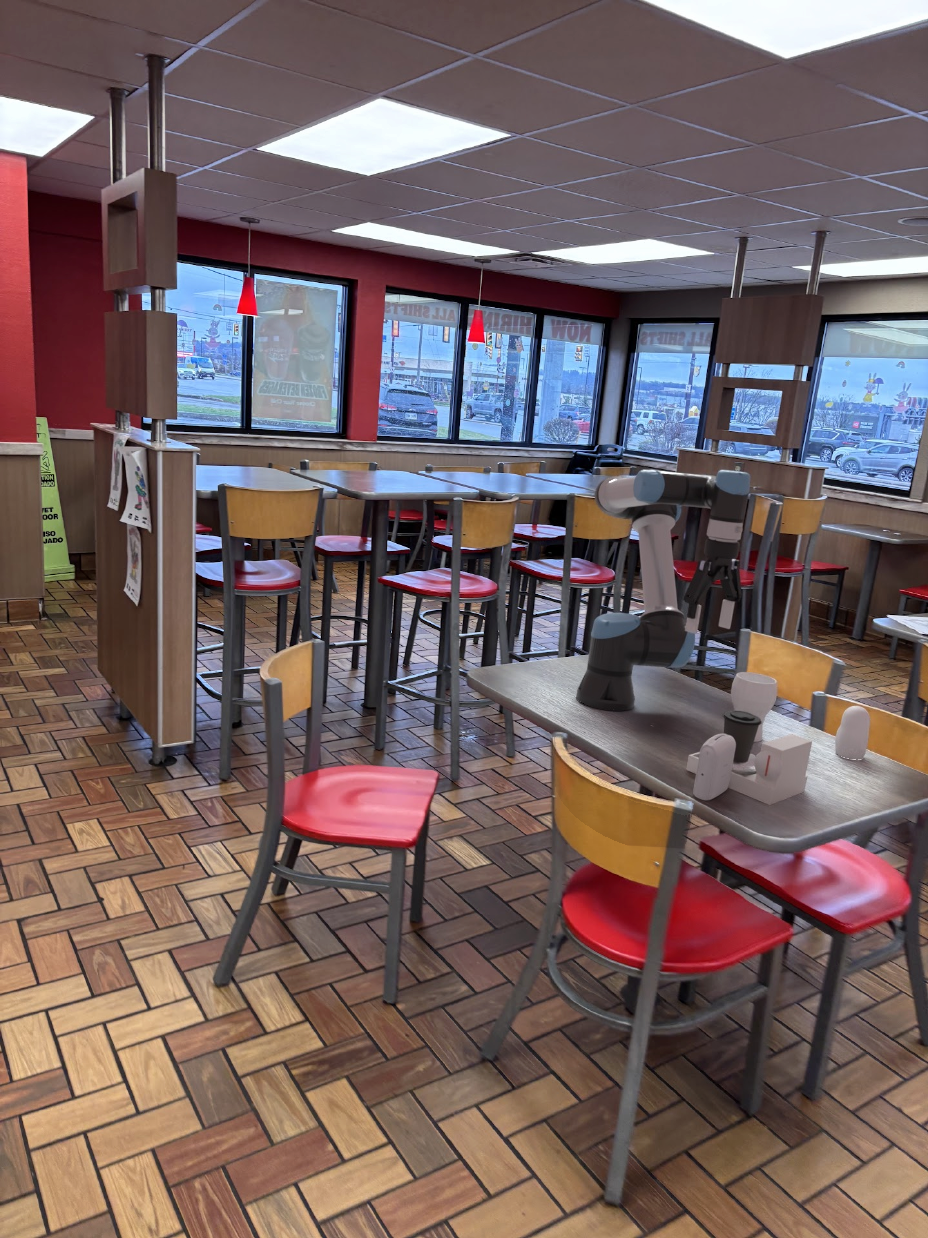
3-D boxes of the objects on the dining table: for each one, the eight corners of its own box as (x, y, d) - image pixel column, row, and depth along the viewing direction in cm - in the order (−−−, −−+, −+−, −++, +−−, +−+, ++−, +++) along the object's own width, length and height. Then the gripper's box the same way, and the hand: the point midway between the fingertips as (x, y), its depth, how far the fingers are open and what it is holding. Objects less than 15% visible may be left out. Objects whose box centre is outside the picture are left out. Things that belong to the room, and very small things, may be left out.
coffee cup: (734, 766, 189) (742, 721, 187) (707, 752, 196) (715, 708, 194) (762, 763, 193) (771, 718, 191) (735, 749, 200) (743, 706, 198)
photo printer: (709, 803, 179) (719, 744, 176) (689, 795, 182) (699, 737, 179) (730, 790, 187) (741, 733, 184) (711, 783, 190) (721, 727, 187)
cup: (770, 747, 216) (782, 687, 213) (725, 739, 218) (735, 680, 215) (765, 733, 226) (776, 675, 223) (721, 726, 228) (732, 669, 225)
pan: (693, 767, 195) (695, 753, 195) (724, 757, 203) (726, 744, 203) (742, 787, 187) (744, 773, 186) (772, 776, 195) (775, 762, 194)
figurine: (863, 753, 219) (873, 706, 216) (866, 763, 212) (876, 715, 209) (832, 747, 221) (841, 700, 218) (834, 757, 214) (844, 709, 211)
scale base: (686, 769, 196) (694, 719, 193) (722, 758, 205) (730, 710, 202) (773, 806, 181) (783, 753, 178) (807, 792, 190) (818, 741, 188)
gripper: (705, 543, 195) (690, 638, 200) (766, 541, 211) (751, 629, 216) (677, 537, 200) (662, 630, 205) (738, 535, 217) (723, 621, 221)
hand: (707, 629), depth 211 cm, fingers open, 13 cm apart
